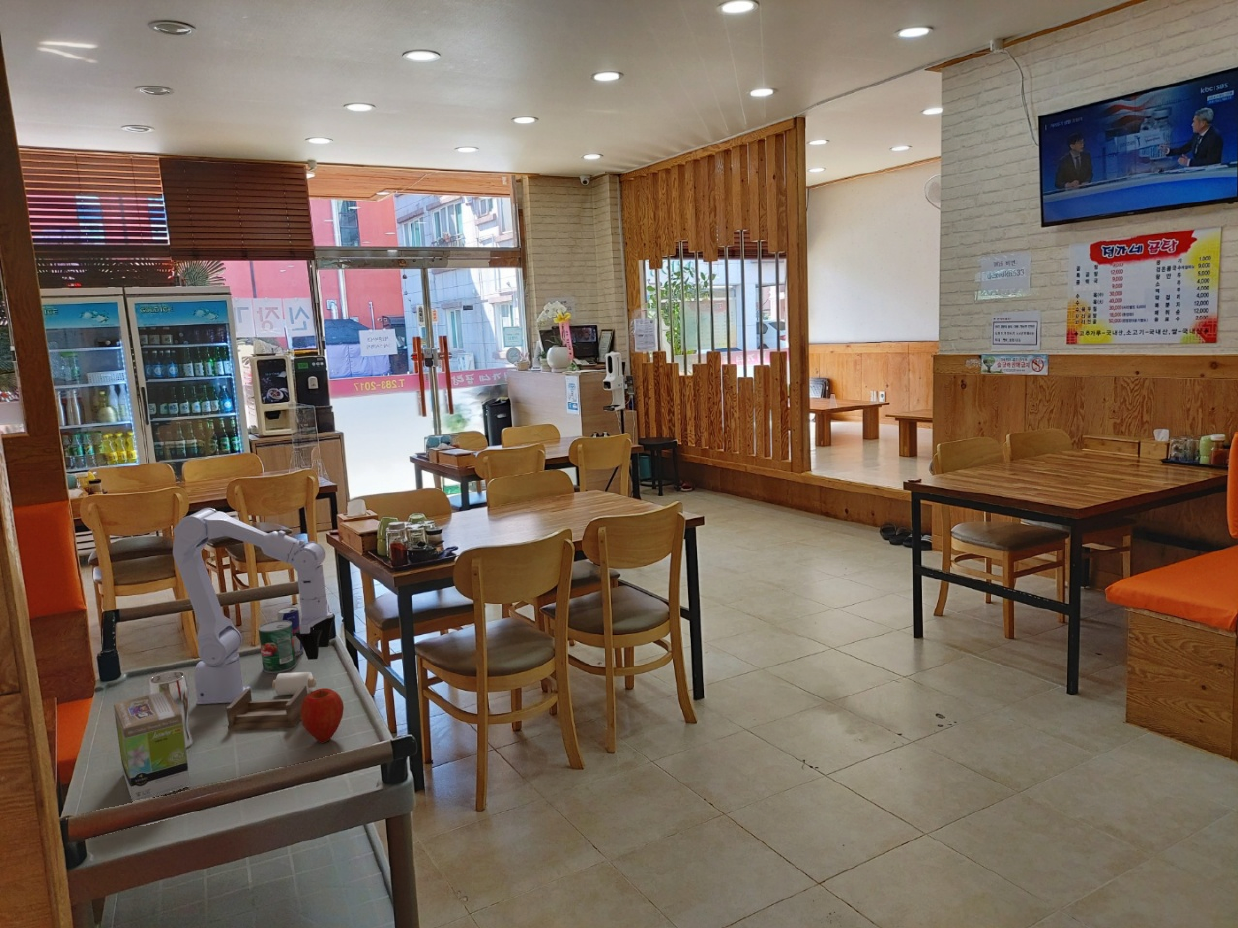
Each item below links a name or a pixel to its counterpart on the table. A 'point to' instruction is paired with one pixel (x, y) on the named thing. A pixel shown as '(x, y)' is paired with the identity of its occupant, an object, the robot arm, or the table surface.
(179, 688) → the beer glass
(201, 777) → the table surface
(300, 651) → the energy drink
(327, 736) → the apple
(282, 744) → the table surface
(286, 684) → the roll
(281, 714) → the holder
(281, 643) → the canned tomato
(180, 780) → the tea box
